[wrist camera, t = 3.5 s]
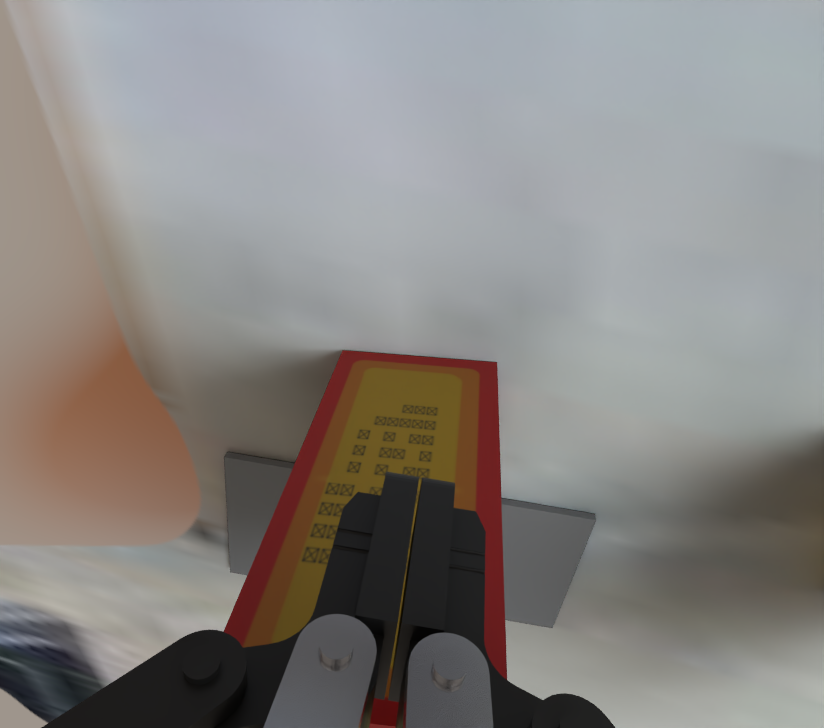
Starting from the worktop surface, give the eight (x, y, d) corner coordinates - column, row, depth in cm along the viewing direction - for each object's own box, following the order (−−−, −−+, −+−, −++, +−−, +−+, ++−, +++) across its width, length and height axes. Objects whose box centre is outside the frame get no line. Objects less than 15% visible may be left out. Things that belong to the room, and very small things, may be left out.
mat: (227, 451, 31) (224, 457, 30) (594, 513, 30) (596, 520, 30) (232, 566, 35) (230, 572, 35) (551, 621, 35) (552, 627, 34)
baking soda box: (342, 350, 27) (186, 719, 13) (497, 362, 26) (509, 759, 12) (346, 517, 31) (235, 921, 17) (477, 530, 31) (471, 956, 17)
